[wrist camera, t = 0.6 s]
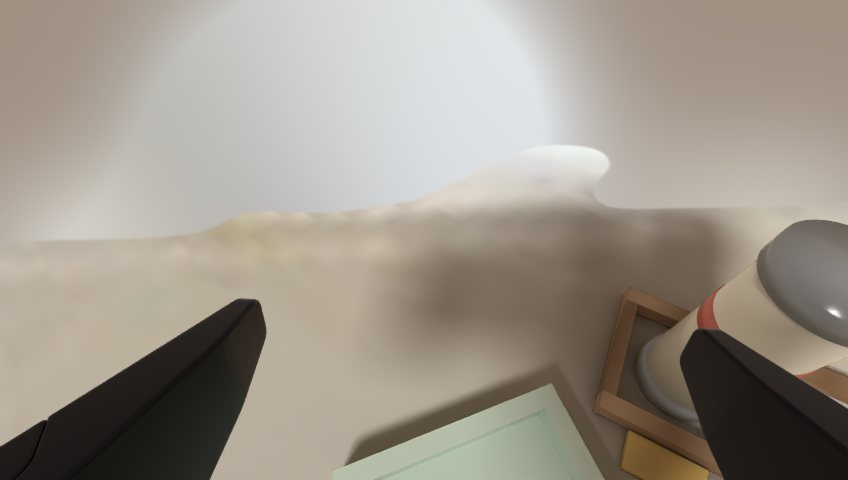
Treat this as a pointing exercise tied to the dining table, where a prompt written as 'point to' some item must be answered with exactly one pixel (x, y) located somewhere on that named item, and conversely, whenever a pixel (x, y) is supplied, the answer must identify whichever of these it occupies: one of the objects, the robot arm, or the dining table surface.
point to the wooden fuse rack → (656, 466)
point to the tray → (490, 447)
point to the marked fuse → (764, 313)
